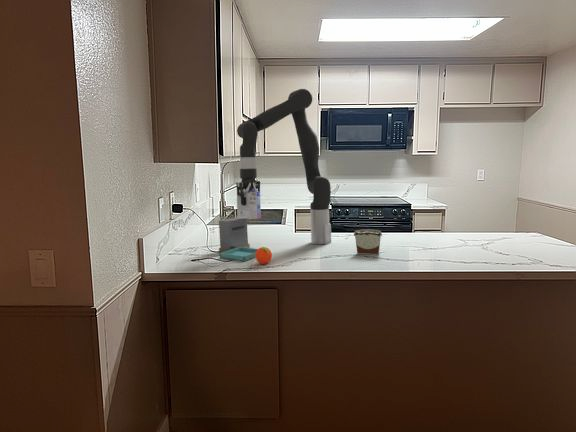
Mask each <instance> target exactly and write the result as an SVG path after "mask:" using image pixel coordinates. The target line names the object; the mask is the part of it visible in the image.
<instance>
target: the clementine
mask: <svg viewBox="0 0 576 432" xmlns="http://www.w3.org/2000/svg"><path fill="white" fill-rule="evenodd" d="M257 249H258V250H257V251H256V253H255V258H254V259H255V261H257V263H259V264H261V265H266V264H269V263H270V261H272V258H273V253H272V251H271V249H270V248H268V247H267V246H266V247H265V246H262V247H259V248H257Z"/></svg>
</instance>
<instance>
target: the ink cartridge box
mask: <svg viewBox="0 0 576 432" xmlns="http://www.w3.org/2000/svg"><path fill="white" fill-rule="evenodd" d="M243 194H244V192H243ZM261 207H262V206H261V190H260V191H258V190H257V191H253V189H252V190H249V191H248V193H247V194H246V205H242V204H241V197H240V196H238V195H237V194H236V211H237V214H236V217H237V218H245V219H247V220H248V219H250V220H251V219H252V220H253V219H255V220H256V219H261V218H262V213H261Z"/></svg>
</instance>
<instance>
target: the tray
mask: <svg viewBox="0 0 576 432" xmlns="http://www.w3.org/2000/svg"><path fill="white" fill-rule="evenodd" d="M258 249H259V248H253V247H252V248H251V247H250V248H246V247H239V248H235V249H232V250H229V251H225V252H222V253H221V252H219V259H224V260H231V261H239V262H247V261H250V260H253V259H256V258H255V253H256V251H257V250H258Z"/></svg>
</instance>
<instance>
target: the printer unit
mask: <svg viewBox="0 0 576 432" xmlns="http://www.w3.org/2000/svg"><path fill="white" fill-rule="evenodd" d="M218 231H219V232H218V233H219V245H220V247H219V248H218V253H222V252H225V251H229V250H232V249H235V248H239V247H246V248H251V247H250V243H249V238H248V236H249V235H248V233H249V232H248V219H245V218H237V216H235V217H231V218H227V219H225V218H224V219H221V220H218Z"/></svg>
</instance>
